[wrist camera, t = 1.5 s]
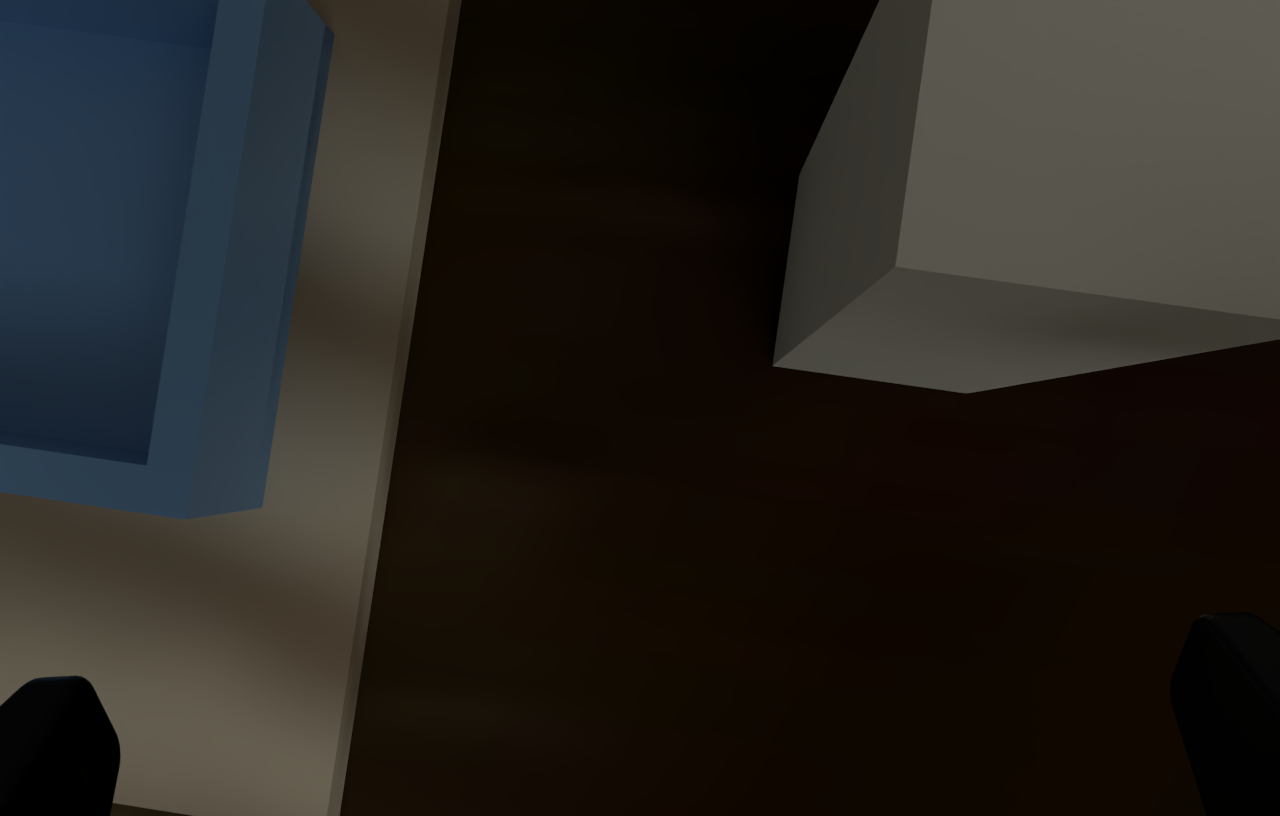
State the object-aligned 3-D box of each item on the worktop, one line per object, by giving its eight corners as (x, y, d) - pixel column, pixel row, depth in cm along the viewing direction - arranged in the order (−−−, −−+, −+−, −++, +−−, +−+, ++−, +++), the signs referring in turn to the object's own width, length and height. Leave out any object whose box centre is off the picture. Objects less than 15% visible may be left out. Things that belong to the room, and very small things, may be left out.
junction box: (261, 508, 22) (185, 519, 19) (-203, 438, 23) (-361, 438, 19) (334, 34, 23) (272, -40, 19) (-126, -27, 23) (-270, -111, 20)
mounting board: (339, 819, 23) (323, 836, 22) (-314, 716, 24) (-358, 728, 23) (494, -224, 24) (486, -253, 23) (-146, -303, 24) (-181, -335, 23)
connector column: (966, 393, 23) (1342, 328, 10) (772, 366, 23) (895, 266, 10) (993, 201, 23) (1398, -110, 10) (799, 174, 23) (954, -165, 10)
